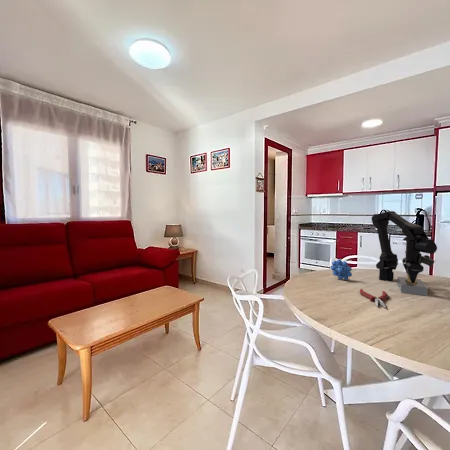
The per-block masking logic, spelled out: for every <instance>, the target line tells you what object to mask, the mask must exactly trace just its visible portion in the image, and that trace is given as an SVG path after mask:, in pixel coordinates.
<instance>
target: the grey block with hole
mask: <svg viewBox="0 0 450 450" xmlns="http://www.w3.org/2000/svg"><path fill="white" fill-rule="evenodd" d="M406 280H407V277H403V276H397V283H396V284H397V286H398V288H399V291H400V293H402V294H410V295H417V296H424V297H427V296H428V287H427V285H426V284H425V283H424V282H423V281H422V280H421V279H419V278H417V282H416V284H415V283H407V282H406Z"/></svg>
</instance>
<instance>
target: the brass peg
mask: <svg viewBox="0 0 450 450" xmlns="http://www.w3.org/2000/svg"><path fill="white" fill-rule="evenodd" d="M406 278H407V280H406V282H407V283H412V282H411V280H410V277H409V274H408V273H406ZM417 279H418V276H417V277H416V280H415V284H416V282H417Z"/></svg>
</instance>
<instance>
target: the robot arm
mask: <svg viewBox="0 0 450 450" xmlns="http://www.w3.org/2000/svg"><path fill="white" fill-rule="evenodd" d="M390 222H391V223H393V224H394V225H395V226H397V227H398V228H400V229H401V232H402V234H403V236H405V237H404V238H403V239H402V241H406V242H405V243H406V244H405V251H404V254H405V257H403V258H402V260H401V262H402V266H403V268H404V269H405V270H404V271H405V272H406V274H407V273H408V274H409V277H410V280H411V282H412V283H415V280H416V277H417V278H418V275H419V274H420V273H422V272H424V270H425V269H424V268H425V267H424V266H423V265H422V264H424V265H427V266H429V267H433V266H434V263H435V262H436V261H435V260H434V259H433V258H431V257H430V256H429V255H433V254H435V253H436V252H437V251H438V246H437V244H436V242H434V239H432V238H431V239H430V238H429V237H428V235H427V233H426V232H425V230H424V227H422V225H419V224H417V223H413V222H410V221H408V220H407V219H406V218H403V217H402V216H401V215H399V214H398V213H397V212H396V211H394V210H391V211H390V210H386V211H383V212H380V213H376V214H375V213H374V214H373V215H372V216H371V223H372V224H373V225H372V226H373V227H375V229H376V231H377V235H378V240H379V246H380V251H381V253H380V255H379V261H378V262H377V263H376V264H375V267H376V269H378V270H379V271H378V280H379V281H386V282H393V280H394V274H395V273H394V271H393V270H397V267H398V264H399V260H398V255H397V253H393V251H392V247H391V242H390V236H389V232H388V226H389V225H390V224H389V223H390ZM422 253H423V254H425V255H423V254H422ZM428 254H429V255H428Z"/></svg>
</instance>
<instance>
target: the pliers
mask: <svg viewBox="0 0 450 450" xmlns="http://www.w3.org/2000/svg"><path fill="white" fill-rule="evenodd" d="M359 294H360V295H361V297H364V298H365V299H367V300H369V302H373V303H374V305H375V306H376V307H377V308H378V306H379V305H380V306H381V307H382V308H385V309H386V308H387V307H386V300H387V299H388V297H389V296H388V293H387V292H386V291H385V290H383V291H382V294H381V295H380V296H378V297H377V296H374V295H373V294H370V293H368V292H367V291H364V289H363V288H360V289H359Z"/></svg>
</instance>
